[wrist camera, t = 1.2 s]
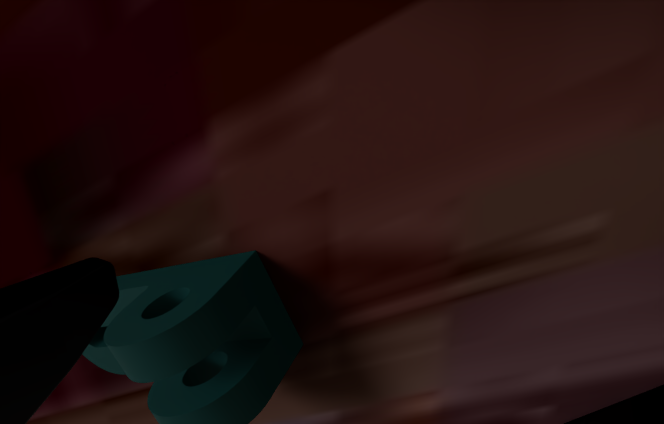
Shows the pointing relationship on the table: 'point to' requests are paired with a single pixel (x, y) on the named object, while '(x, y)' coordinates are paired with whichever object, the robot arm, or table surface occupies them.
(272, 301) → the bracket
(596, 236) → the table surface
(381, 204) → the table surface
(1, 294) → the robot arm
